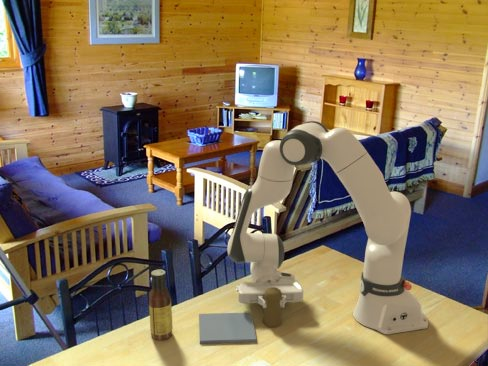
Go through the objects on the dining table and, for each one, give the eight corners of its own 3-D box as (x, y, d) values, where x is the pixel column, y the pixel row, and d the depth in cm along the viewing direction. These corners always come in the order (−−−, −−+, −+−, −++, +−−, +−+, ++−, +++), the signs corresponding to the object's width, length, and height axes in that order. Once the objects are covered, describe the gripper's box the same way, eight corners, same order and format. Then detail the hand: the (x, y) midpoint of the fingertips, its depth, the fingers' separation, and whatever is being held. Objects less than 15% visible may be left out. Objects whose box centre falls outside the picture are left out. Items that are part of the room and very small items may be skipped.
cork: (280, 328, 158) (282, 295, 154) (260, 326, 159) (261, 293, 156) (283, 318, 163) (284, 286, 160) (263, 315, 165) (265, 283, 161)
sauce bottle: (176, 333, 154) (176, 271, 148) (162, 343, 149) (161, 280, 143) (159, 326, 157) (158, 265, 151) (145, 336, 152) (143, 273, 146)
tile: (250, 315, 164) (251, 312, 164) (256, 342, 151) (256, 339, 151) (198, 316, 163) (199, 313, 163) (199, 343, 150) (199, 340, 149)
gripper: (235, 275, 170) (239, 297, 157) (298, 274, 172) (307, 295, 159) (235, 293, 172) (239, 316, 158) (297, 291, 174) (306, 314, 161)
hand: (274, 306), depth 159 cm, fingers closed on cork, 3 cm apart
